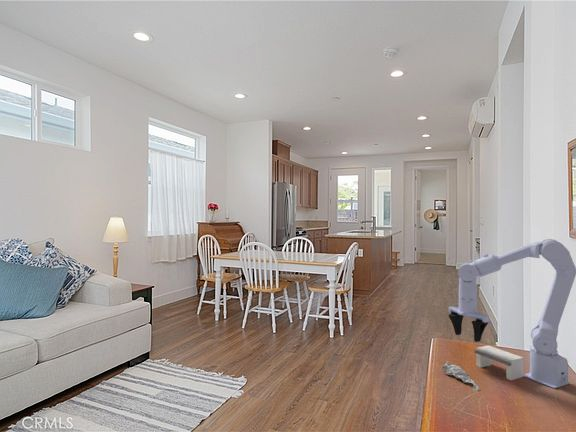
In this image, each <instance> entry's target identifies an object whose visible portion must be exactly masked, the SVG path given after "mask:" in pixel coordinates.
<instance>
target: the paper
mask: <svg viewBox="0 0 576 432" xmlns="http://www.w3.org/2000/svg"><path fill="white" fill-rule="evenodd" d="M441 369H442V370H444V371H445V373H444V375H447V376H454V377H455V378H457V379H460V380H462V382H463V383H464V384H466V383H467V384H473V386H472V390H473V391H481V389H480V387H478V384H477V383H476V382H475V381H474V380H473V379H472V376H471V375H469V373H467V372H466V370H464V369H462V368H461V366H459V365H458V366H457V365H456V364H451V362H450V361H446V362H445V364H444V365H443V366H442V368H441Z"/></svg>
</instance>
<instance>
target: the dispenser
mask: <svg viewBox="0 0 576 432" xmlns="http://www.w3.org/2000/svg"><path fill="white" fill-rule="evenodd" d="M474 354H476V360H475V362H476V364H475V365H476V367H478V368H484V367H489V366H492V365H493V361H495V362H498V363H501V364H504V365H506V366H505V369H506V370H505V372H506V373H505V374H506V376H505V377H506V380H510V381H514V380H517V379H520V378H523V377H524V357H523V356H521V355H517V354H514V353H512V352H508V351H506V350H502V349H500V348H497V347H494V346H491V345H488V344H487V345H483V346H479V347H476V348H475V350H474Z"/></svg>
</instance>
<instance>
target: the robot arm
mask: <svg viewBox="0 0 576 432" xmlns="http://www.w3.org/2000/svg"><path fill="white" fill-rule="evenodd" d="M540 255H541V257H543V258H544V259H545V260H546V261H547V262H549V263H550V264H551V266H552V267H553V268H554V270H555V275H554V278H553V281H552V283H551V286H550V289H549V293H548V296H547V298H546V302H545V305H544V308H543V311H542V314H541V316H540V319H539V320H538V321H537V325H536V326H535V327H534V328H532V330H531V332H530V337H531V340H532V345H531V346H529V372H528V373H525V374H524V373H523V377H525V378H527V379H529V380H532V381H534V382H537V383H539V384H542V385H544V386H547V387H549V388H553V389H558V388H560V387H564V386H566V385H569V384H570V381H569V362H568V359H567V358H566V357H564V356H562V355H560V354H559V352H558V350H557V349H558V342H557V337H558V333H559V325H560V323H561V319H562V316H563V314H564V311H565V309H566V305H567V303H568V299H569V296H570V292H571V291H572V290H571V289H572V288H573V284H574V281H575V278H576V265H575V262H574V261H573V257H572V255H571V252H570V251H569V249H568V248H567V247H566V246H565V245H564V244H563V243H561V242H560V241H558V240H556V239H552V238H547V239H544V240H542V241H539V240H538V241H535V242H532V243H528V244H525V245H522V246H520V247H518V248H515V249H512V250H511V251H508V252H504V253H503V254H500V255H495V254H494V253H493V254H489V255H488V253H486V254H483V257H480V258H478V259H475V260H474V259H470V260H469V262H465V263H463V264H462V265H461V266H460V267H459V268H458V271H457V275H458V276H459V279H458V283H459V284H458V307H457V306H453V305H451V306H448V307H447V308H448V309H447V310H448V318H449V319H450V322H451V324H452V327H453V329H454V334H455V335H456V336H459V335H462V332H463V331H462V325H463V320H464V317H467V318H469V319H473V320H471V324H472V329H473V339H474V342H475V343H479V342H481V339H482V336H483V334H484V331H485V329H486V328H487V326H488V325H489V323H490V316H489V315H487V314H484V313H481V312H479V311H478V285H477V277H480V278H481V277H484V276H487V275H490V274H492V273H496V272H499V271H501V269H502V267H503V265H506V264H509V263H512V262H516V261H519V260H522V259H526V258H535V259H540Z"/></svg>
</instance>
